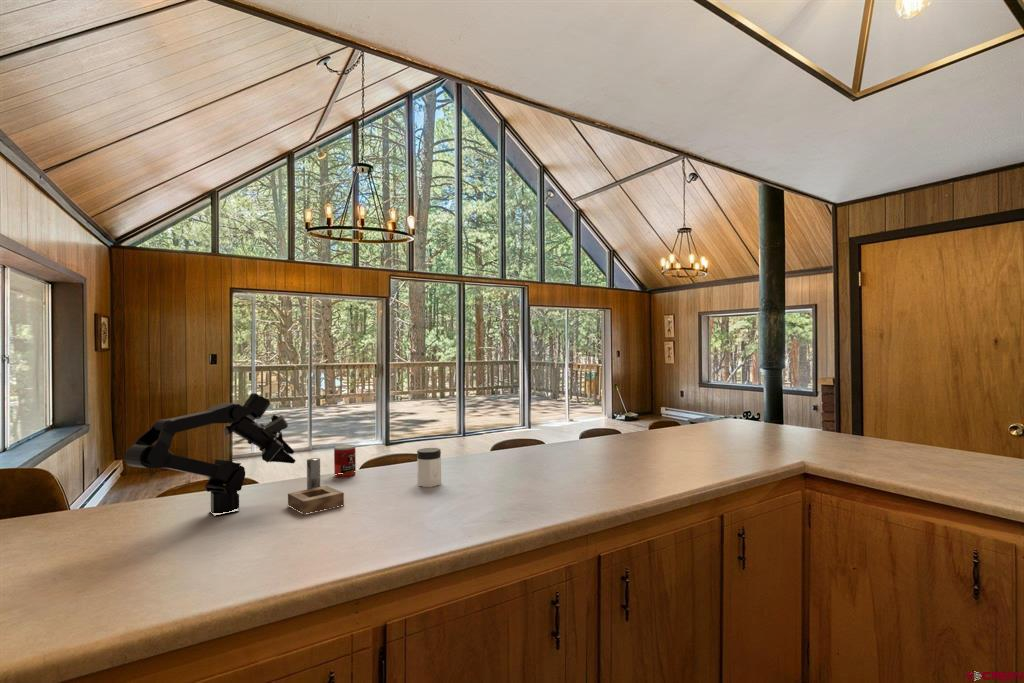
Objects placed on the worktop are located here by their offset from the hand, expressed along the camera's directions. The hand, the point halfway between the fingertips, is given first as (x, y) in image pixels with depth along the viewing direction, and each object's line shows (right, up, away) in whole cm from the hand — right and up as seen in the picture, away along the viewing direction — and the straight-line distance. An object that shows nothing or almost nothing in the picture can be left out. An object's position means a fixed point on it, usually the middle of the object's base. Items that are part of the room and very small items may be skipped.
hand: (294, 457), depth 161 cm
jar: (+42, -13, +13) cm, 45 cm away
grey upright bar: (+6, -13, 0) cm, 14 cm away
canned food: (+7, -14, +28) cm, 32 cm away
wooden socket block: (+11, -13, -10) cm, 20 cm away
